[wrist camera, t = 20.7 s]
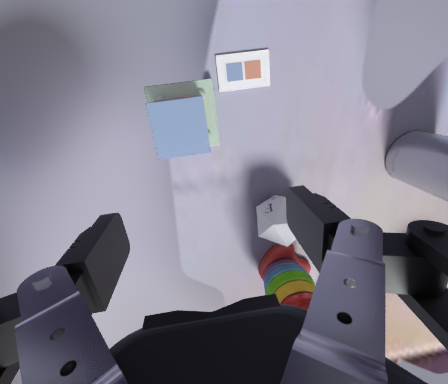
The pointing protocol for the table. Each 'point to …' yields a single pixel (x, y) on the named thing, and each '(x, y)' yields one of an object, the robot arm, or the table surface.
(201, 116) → the brick blue
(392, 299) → the table surface
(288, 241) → the die
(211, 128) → the baseplate
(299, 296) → the stacking bear
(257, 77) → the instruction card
